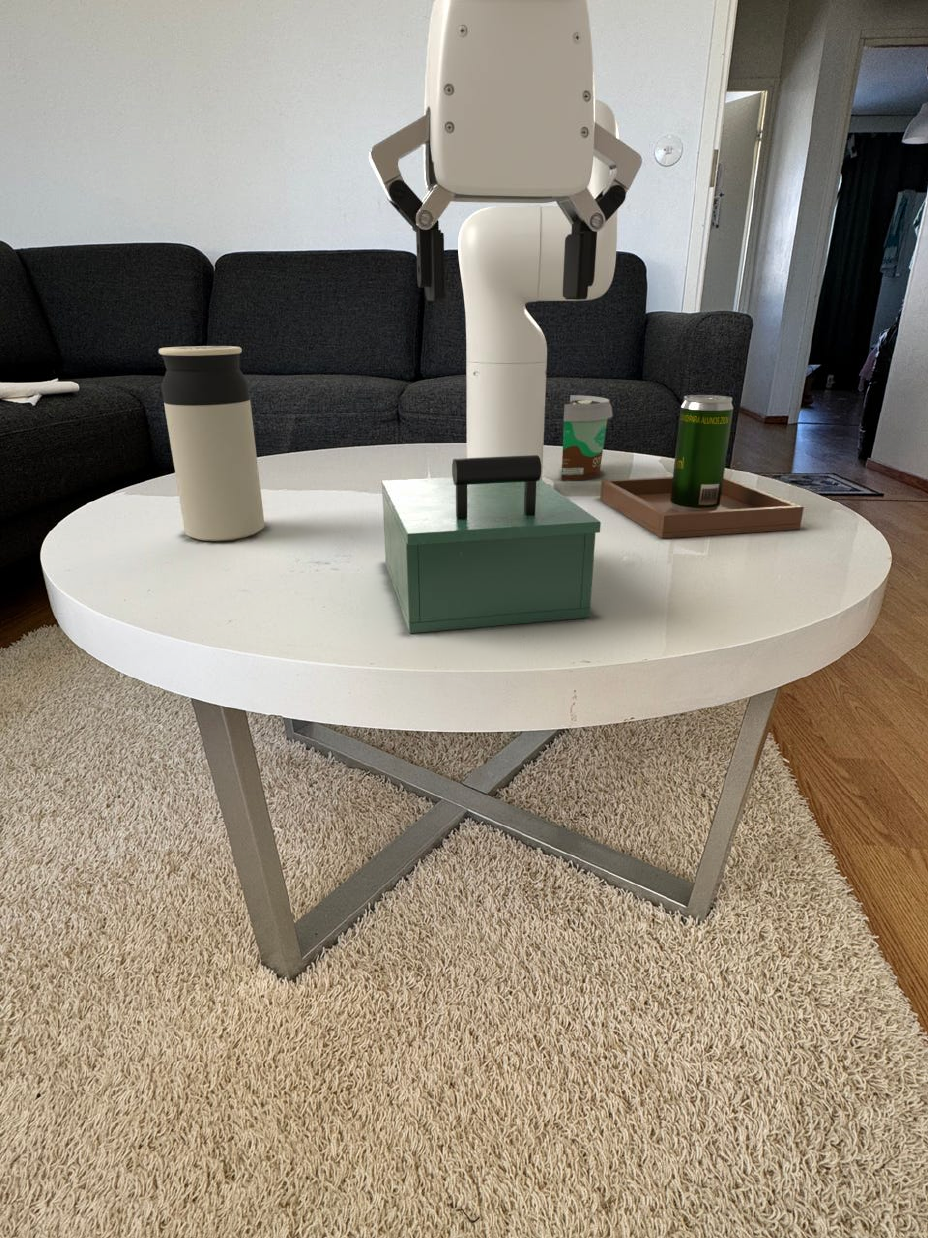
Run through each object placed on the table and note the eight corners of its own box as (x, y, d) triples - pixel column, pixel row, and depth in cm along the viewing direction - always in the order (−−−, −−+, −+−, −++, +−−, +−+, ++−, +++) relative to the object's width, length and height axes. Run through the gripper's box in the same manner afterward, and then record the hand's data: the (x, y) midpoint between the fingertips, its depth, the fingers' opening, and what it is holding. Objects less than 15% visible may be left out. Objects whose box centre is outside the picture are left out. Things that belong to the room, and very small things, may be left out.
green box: (589, 617, 54) (596, 529, 51) (409, 633, 51) (406, 541, 49) (529, 554, 68) (532, 482, 65) (385, 564, 65) (382, 490, 63)
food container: (607, 484, 95) (613, 405, 91) (560, 482, 96) (564, 404, 92) (608, 466, 106) (614, 395, 102) (566, 464, 107) (570, 394, 103)
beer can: (729, 511, 80) (746, 398, 75) (692, 516, 78) (706, 401, 73) (695, 500, 84) (709, 393, 79) (659, 505, 82) (670, 396, 77)
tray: (599, 499, 87) (601, 480, 86) (717, 493, 90) (719, 474, 89) (661, 538, 72) (664, 515, 71) (800, 529, 75) (804, 506, 74)
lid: (600, 532, 50) (605, 460, 48) (407, 545, 48) (405, 470, 46) (532, 482, 65) (534, 425, 63) (381, 489, 63) (379, 430, 61)
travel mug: (280, 526, 77) (261, 346, 70) (229, 546, 70) (202, 350, 63) (222, 518, 80) (198, 345, 73) (168, 536, 73) (136, 348, 66)
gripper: (627, 5, 46) (606, 298, 53) (355, -14, 43) (371, 300, 50) (682, -44, 39) (650, 299, 46) (365, -71, 36) (382, 301, 43)
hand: (506, 299), depth 48 cm, fingers open, 9 cm apart
